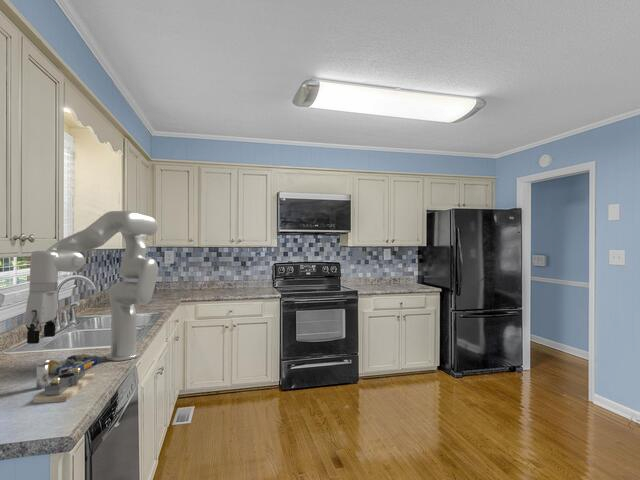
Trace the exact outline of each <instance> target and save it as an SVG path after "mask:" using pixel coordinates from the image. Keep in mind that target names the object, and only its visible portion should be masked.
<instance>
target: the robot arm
mask: <svg viewBox="0 0 640 480" xmlns="http://www.w3.org/2000/svg"><path fill="white" fill-rule="evenodd" d="M158 229H159V225H158V221H157V220H156V218H154V217H153V216H150V215H147V214H142V213H139V212H135V211H132V210H110V211H108V212H105V213H104V214H103V215H101V216H100V217H99V218H97V219H96V220H95V221H94V222H92V223H91V224H90V225H88V226H87V227H86V228H84V229H82V230H80V231H77V232H76V233H73V234H70V235H69V236H65V237H64V238H62V239H59V241H57V242H55V243H54V244H52V245H51V246H50V247H49V248H47V249H46V250H35V251H32V252H31V254H30V265H29V266H30V267H29V270H30V271H29V288H28V289H29V290H28V291H29V292H28V297H27V302H26V309H25V317H24V321H25V328H26V332H27V333H26V335H27V337H26V344H28V345H30V344H31V345H32V344H33V345H34V344H39V343H40V332H41V331H40V330H39V329H40V326H41V324H44V325H43V327H44V328H43V337H44V338H45V337H46V338H47V337H50V338H51V337H52V338H53V337H55V336H56V325H57V319H58V312H59V311H58V309H57V293H58V286H59V285H58V279H59V272H62V273H63V272H65V273H71V272H72V273H73V272H77V271H79V270H81V269H82V268H83V267H84V265H85V263H86V260H85V257H84V255H83V254H82V252H87V251H91V250H93V249H94V250H95V249H97V248H100V247H102V246H104V245H105V244H106V243H107V242H108V241H110V239H112V238H113V237H114V236H115V235H116V234H117V233H121V235H122V237H123V239H124V242H125V249H124V253H123V257H122V259H121V263H120V267H119V275H120V277H122V279H126V280H137V281H118V282H115V283H114V284H112V285H111V287H110V288H109V290H108V299H109V303H110V312H111V316H110V317H111V318H110V321H111V323H110V325H111V326H110V330H111V331H110V352H109V353H107V354H106V355H105V358H106V360H108V361H114V362H115V361H118V362H120V361H127V360H132V359H135V358H137V357H140V356H141V351H140V350H137V320H138V319H137V317H138V315H137V309H136V308H135V306H145V305H147V304H148V303H150V301H151V300H152V298H153V295H154V291H155V287H156V283H157V278H158V274H159V265H158V263H157V261H156V260H155V259H153V258H152V257H146V255H147V252H148V251H147V250H148V247H147V243H146V241H145V239H144V238H143V237H149V236H150V237H151V236H153V235H155V234H156V233H157V231H158Z"/></svg>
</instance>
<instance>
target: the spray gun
mask: <svg viewBox="0 0 640 480" xmlns="http://www.w3.org/2000/svg"><path fill="white" fill-rule="evenodd" d="M101 360H102V358H101V356H98V355H97V354H95V355H89V354H84V353H82V354H75V355H74V354H72V355H70V356H68V357H66V359H65V361H64V362H65V363H66V365H63V363H61V362H59V361H56V360H53V359H51V362H50V363H49V374H51V375H59V374H63V373H68V372H72V369H73V368H77V367H80V371H85V372H86V370H88V369H91V368H92V367H94V366H96V365H98V364H99V363H101Z"/></svg>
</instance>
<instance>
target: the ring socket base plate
mask: <svg viewBox="0 0 640 480" xmlns="http://www.w3.org/2000/svg"><path fill="white" fill-rule="evenodd" d="M94 378H95V373H86V370H85V371H80V367H77V368H73V369H72V372H68V373H63V374H56V375H55V376H53V378H52V377H51V379H50V382H48V384H47V385H46V386H45V389H43V391H41V392H40V393H38V394H37V395H35V396H34V397H33V404H40V403H42V404H43V403H53V402H55V403H57V402H67V401H69V400H70V399H71V398H72V397H73V396H74V395H76V394H77V393H78V392H79V391H80V390H81V389H83V388H84V387H85V386H86V385H88V383H89V382H91V381H92V380H93V379H94Z"/></svg>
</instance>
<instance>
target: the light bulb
mask: <svg viewBox="0 0 640 480" xmlns="http://www.w3.org/2000/svg"><path fill="white" fill-rule="evenodd" d="M51 360H52V359H51V358H49V357H47V358H39V359H36V360H35V361H34V365H35V366H36V379H35V381H36V383H35V384H36V386H35V388H36V390H45V386H46V385H47V384H49V374H50V373H49V363H50V362H51Z"/></svg>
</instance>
